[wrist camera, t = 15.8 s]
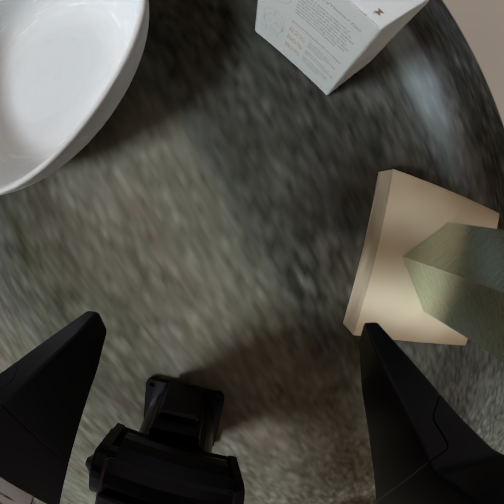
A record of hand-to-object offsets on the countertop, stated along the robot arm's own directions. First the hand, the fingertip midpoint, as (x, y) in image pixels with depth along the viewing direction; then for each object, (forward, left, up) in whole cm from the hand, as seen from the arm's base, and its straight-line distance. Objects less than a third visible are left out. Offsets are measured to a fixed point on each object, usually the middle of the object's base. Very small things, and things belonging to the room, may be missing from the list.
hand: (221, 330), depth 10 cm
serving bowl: (+12, +18, -13) cm, 26 cm away
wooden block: (+3, -16, -13) cm, 21 cm away
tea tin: (+3, -15, -10) cm, 19 cm away
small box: (+18, -3, -13) cm, 22 cm away
